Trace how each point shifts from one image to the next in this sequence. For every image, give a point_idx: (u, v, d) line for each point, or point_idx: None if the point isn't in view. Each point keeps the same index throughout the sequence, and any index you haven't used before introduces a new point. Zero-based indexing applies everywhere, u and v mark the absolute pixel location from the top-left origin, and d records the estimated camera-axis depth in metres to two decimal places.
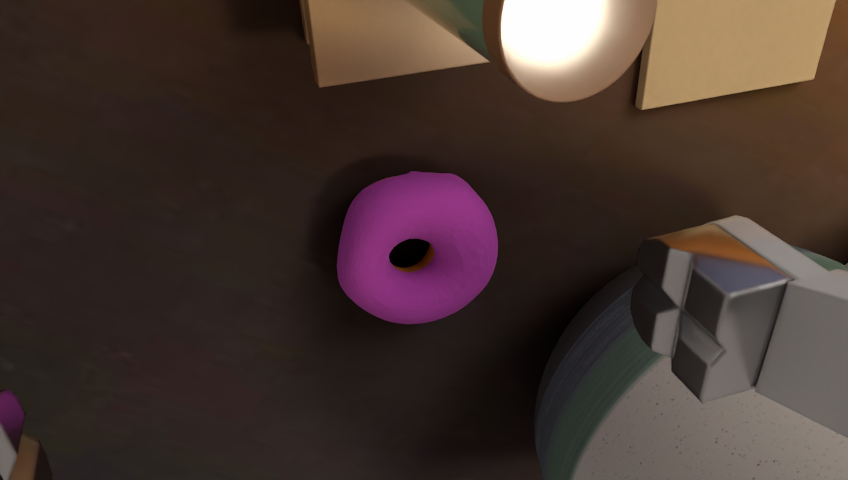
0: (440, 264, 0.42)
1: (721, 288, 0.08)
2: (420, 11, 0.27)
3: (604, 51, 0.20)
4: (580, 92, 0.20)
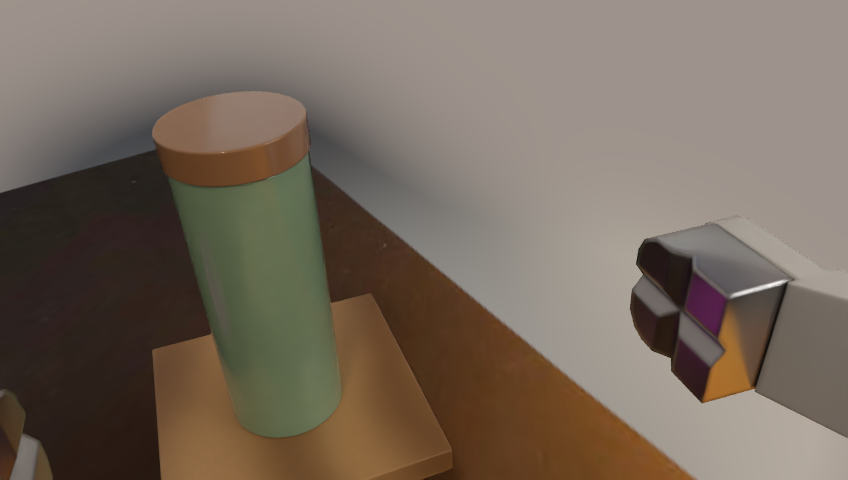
0: None
1: (721, 288, 0.08)
2: None
3: (199, 134, 0.21)
4: (160, 133, 0.22)
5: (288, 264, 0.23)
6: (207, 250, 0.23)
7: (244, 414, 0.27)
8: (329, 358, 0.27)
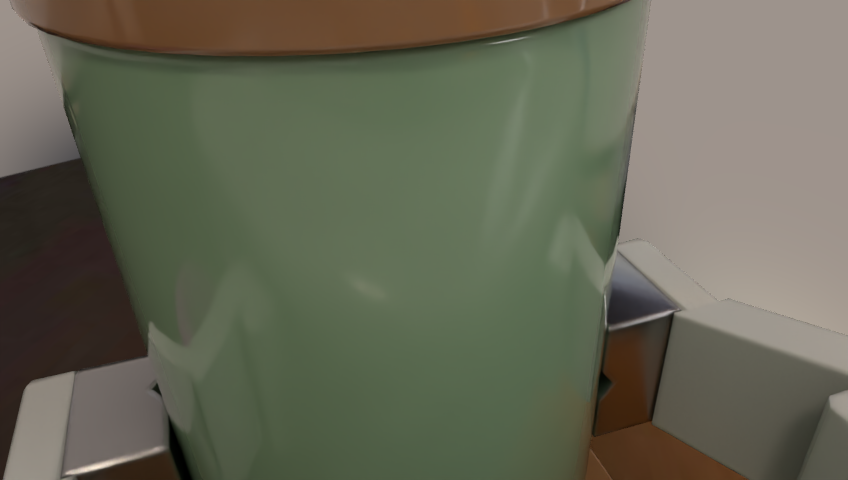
0: None
1: None
2: None
3: None
4: None
5: (541, 429, 0.06)
6: (215, 380, 0.05)
7: None
8: None
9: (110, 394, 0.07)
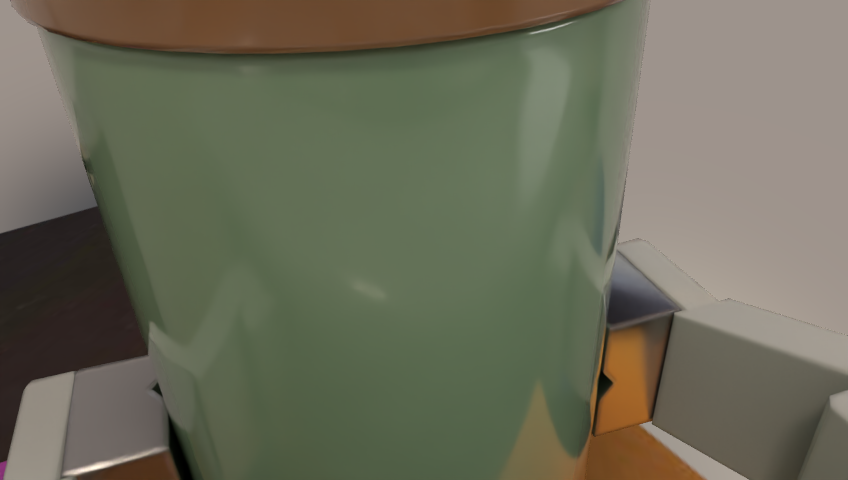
0: None
1: None
2: None
3: None
4: None
5: (541, 427, 0.06)
6: (215, 378, 0.05)
7: None
8: None
9: (110, 394, 0.07)
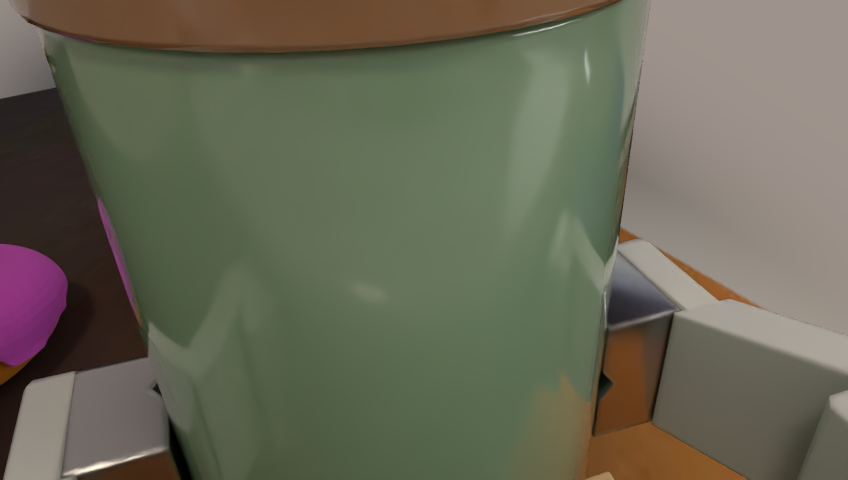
0: None
1: None
2: None
3: None
4: None
5: (542, 427, 0.06)
6: (214, 379, 0.05)
7: None
8: None
9: (110, 394, 0.07)
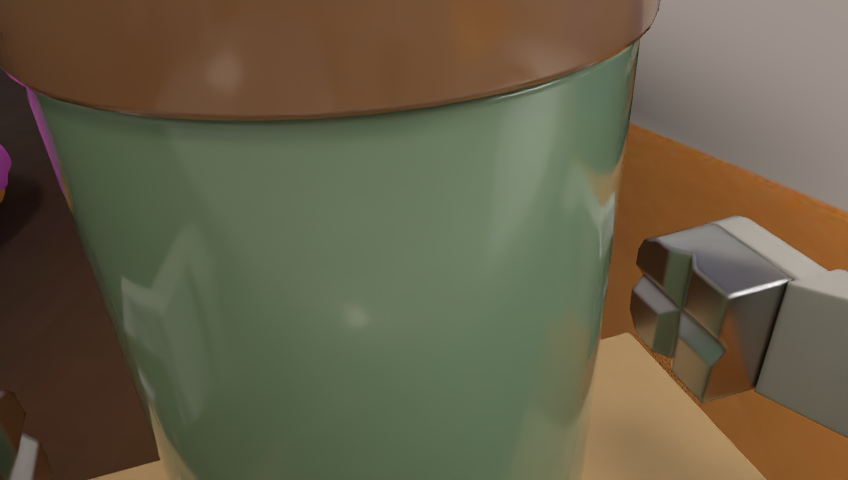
0: None
1: (721, 288, 0.08)
2: None
3: None
4: None
5: (532, 469, 0.06)
6: (201, 426, 0.05)
7: None
8: None
9: None
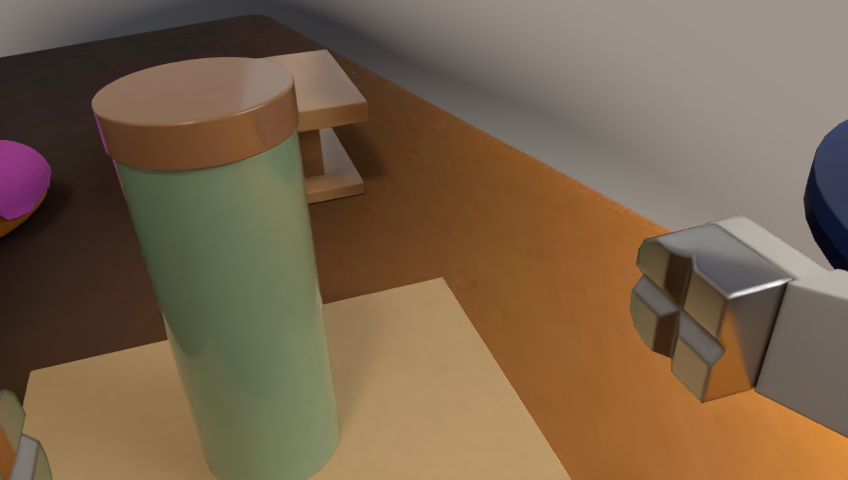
0: None
1: (721, 288, 0.08)
2: None
3: (150, 103, 0.16)
4: (102, 101, 0.17)
5: (267, 276, 0.18)
6: (161, 255, 0.18)
7: (215, 462, 0.22)
8: (321, 395, 0.22)
9: None
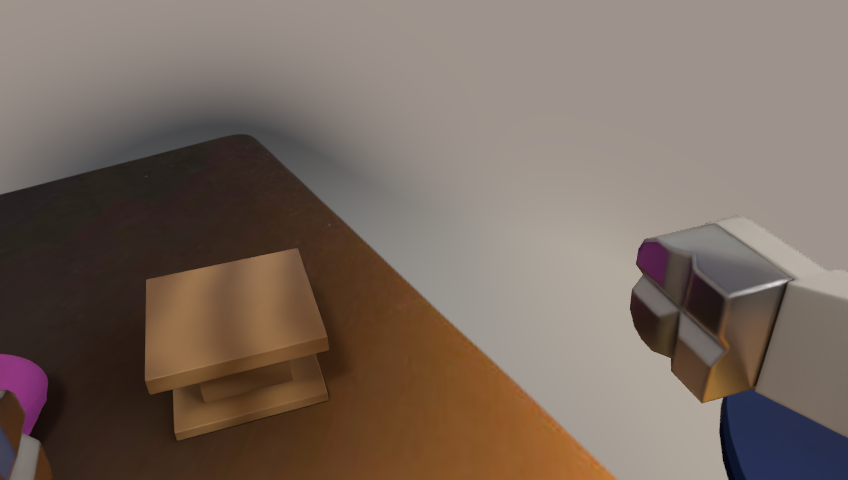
0: None
1: (721, 288, 0.08)
2: None
3: None
4: None
5: None
6: None
7: None
8: None
9: None
